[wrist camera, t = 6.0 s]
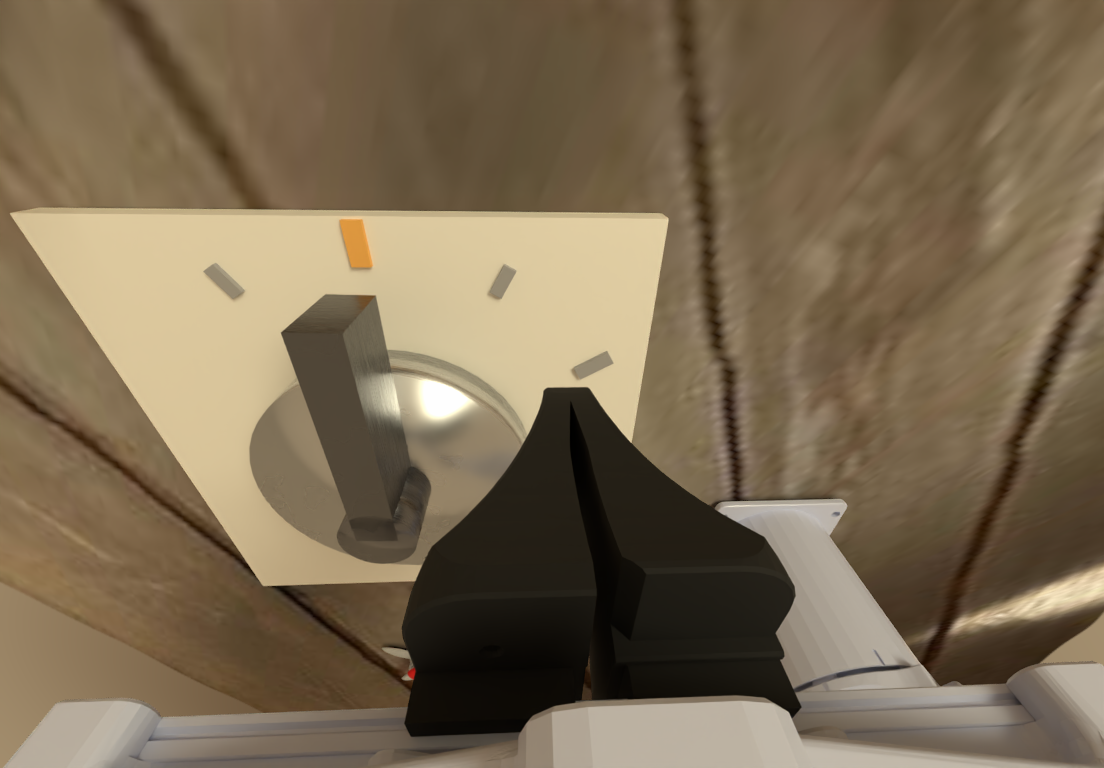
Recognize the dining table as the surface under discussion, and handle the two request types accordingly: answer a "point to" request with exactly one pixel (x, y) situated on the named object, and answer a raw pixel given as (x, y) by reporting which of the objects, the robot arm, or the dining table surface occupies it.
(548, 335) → the dial plate
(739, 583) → the robot arm
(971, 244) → the dining table surface
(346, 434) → the dial
